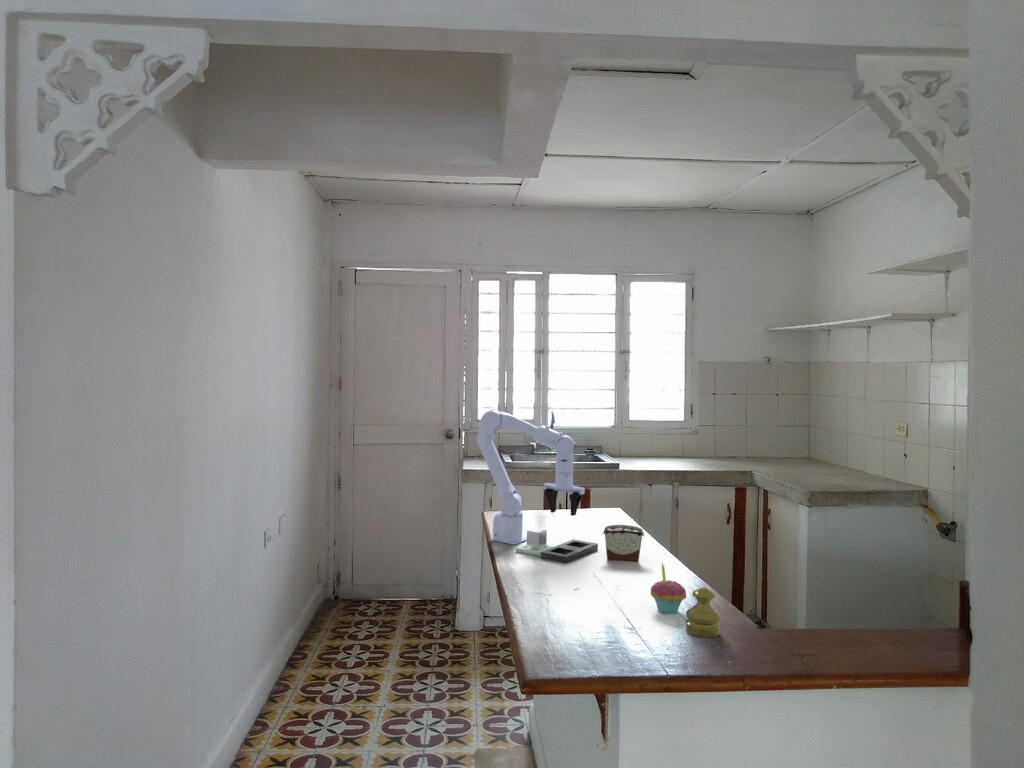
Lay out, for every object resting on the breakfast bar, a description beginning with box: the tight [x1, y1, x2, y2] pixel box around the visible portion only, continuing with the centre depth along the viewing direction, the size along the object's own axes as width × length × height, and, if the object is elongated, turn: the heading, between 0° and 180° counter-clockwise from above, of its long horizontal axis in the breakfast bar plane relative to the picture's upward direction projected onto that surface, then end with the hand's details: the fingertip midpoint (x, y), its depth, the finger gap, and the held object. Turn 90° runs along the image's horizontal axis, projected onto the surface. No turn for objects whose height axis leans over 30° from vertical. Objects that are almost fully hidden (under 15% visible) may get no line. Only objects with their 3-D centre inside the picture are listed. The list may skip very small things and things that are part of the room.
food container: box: [602, 524, 645, 564], centre depth 223 cm, size 12×6×10 cm, turn 84°
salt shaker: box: [685, 586, 721, 639], centre depth 163 cm, size 7×7×10 cm
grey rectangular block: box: [526, 527, 548, 551], centre depth 230 cm, size 4×4×6 cm
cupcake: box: [650, 562, 687, 615], centre depth 178 cm, size 9×8×12 cm
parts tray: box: [515, 543, 556, 557], centre depth 230 cm, size 9×9×1 cm
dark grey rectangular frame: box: [540, 538, 599, 564], centre depth 228 cm, size 9×20×2 cm, turn 146°
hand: (563, 513), depth 240 cm, fingers open, 7 cm apart
